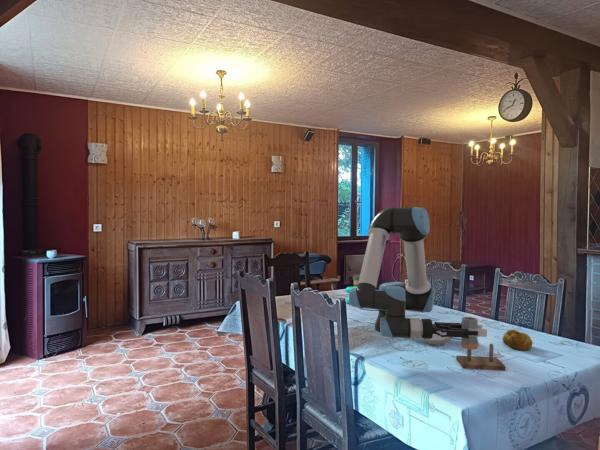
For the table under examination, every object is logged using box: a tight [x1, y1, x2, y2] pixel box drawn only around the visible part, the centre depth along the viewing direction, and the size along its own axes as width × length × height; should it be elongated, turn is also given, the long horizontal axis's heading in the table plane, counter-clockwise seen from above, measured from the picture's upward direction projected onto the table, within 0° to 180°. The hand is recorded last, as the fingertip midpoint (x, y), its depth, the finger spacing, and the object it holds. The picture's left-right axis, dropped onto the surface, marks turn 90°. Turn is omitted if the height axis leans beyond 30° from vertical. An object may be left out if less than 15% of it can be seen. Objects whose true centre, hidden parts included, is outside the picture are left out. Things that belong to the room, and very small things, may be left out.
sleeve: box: [460, 316, 479, 351], centre depth 162 cm, size 5×5×11 cm
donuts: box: [345, 286, 357, 305], centre depth 272 cm, size 10×10×10 cm
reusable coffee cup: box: [352, 273, 361, 287], centre depth 291 cm, size 13×13×15 cm
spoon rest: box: [423, 334, 480, 347], centre depth 188 cm, size 24×12×7 cm, turn 87°
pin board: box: [456, 343, 507, 371], centre depth 162 cm, size 15×10×8 cm, turn 83°
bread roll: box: [501, 329, 533, 351], centre depth 184 cm, size 13×10×8 cm
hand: (483, 330), depth 161 cm, fingers closed on sleeve, 5 cm apart
